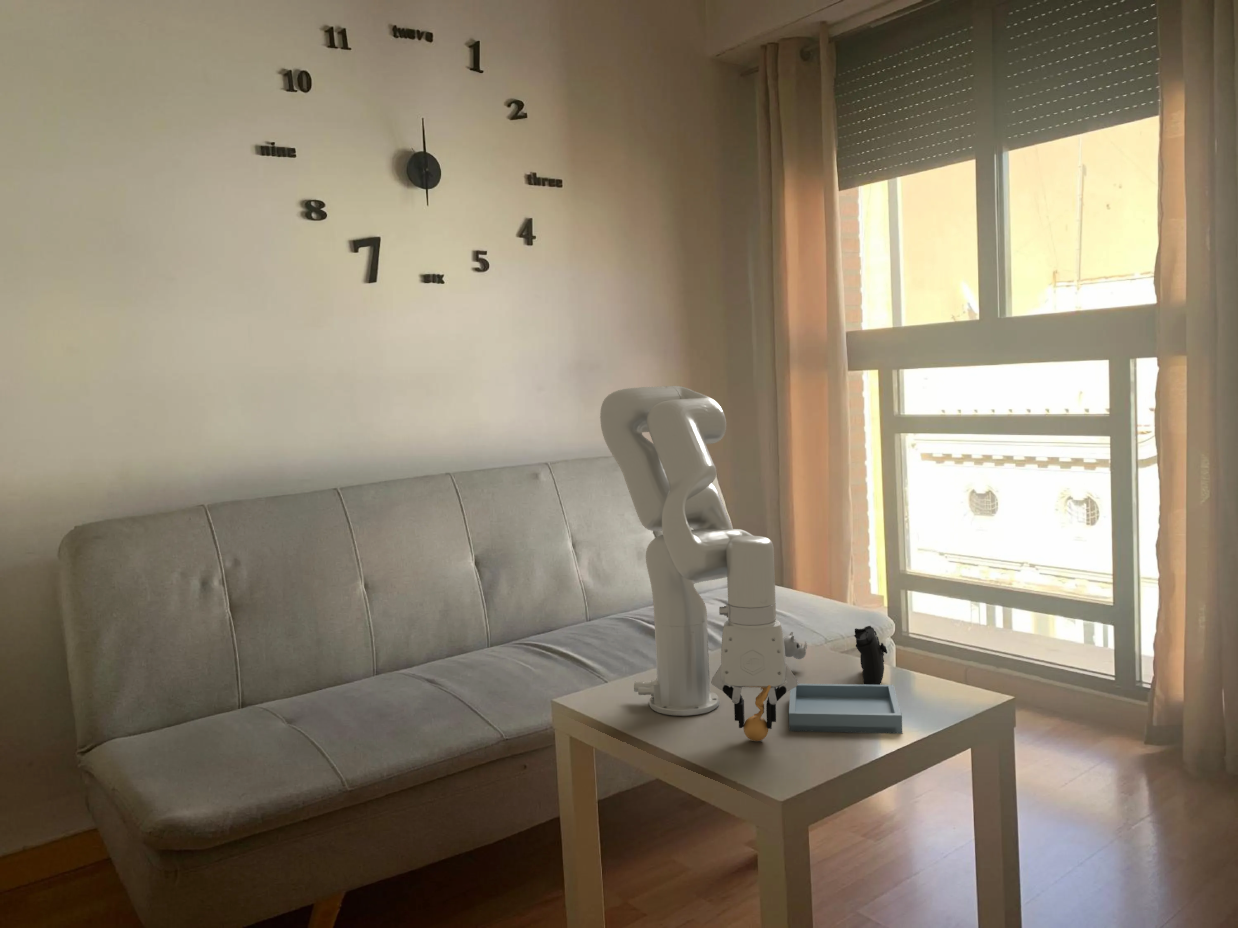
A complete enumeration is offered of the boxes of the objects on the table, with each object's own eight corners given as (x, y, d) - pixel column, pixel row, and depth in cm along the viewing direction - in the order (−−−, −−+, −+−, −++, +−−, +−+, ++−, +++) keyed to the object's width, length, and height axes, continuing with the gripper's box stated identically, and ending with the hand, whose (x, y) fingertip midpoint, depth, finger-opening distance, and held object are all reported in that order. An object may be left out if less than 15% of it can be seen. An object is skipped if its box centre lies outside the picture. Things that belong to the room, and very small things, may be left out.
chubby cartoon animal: (809, 675, 190) (808, 632, 189) (747, 676, 191) (746, 633, 191) (806, 664, 197) (805, 623, 196) (747, 665, 199) (745, 624, 198)
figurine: (745, 731, 161) (740, 660, 160) (782, 730, 160) (777, 659, 159) (743, 750, 153) (737, 675, 152) (781, 749, 152) (776, 674, 151)
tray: (789, 730, 160) (788, 713, 160) (791, 699, 176) (790, 683, 176) (902, 733, 157) (901, 715, 157) (893, 701, 173) (893, 684, 172)
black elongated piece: (891, 692, 177) (890, 639, 177) (857, 692, 179) (856, 639, 178) (886, 670, 191) (884, 620, 190) (854, 669, 192) (853, 620, 192)
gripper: (697, 619, 153) (701, 732, 155) (805, 620, 150) (808, 735, 151) (702, 608, 160) (706, 715, 162) (805, 608, 157) (808, 718, 159)
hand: (755, 724), depth 157 cm, fingers closed on figurine, 3 cm apart
